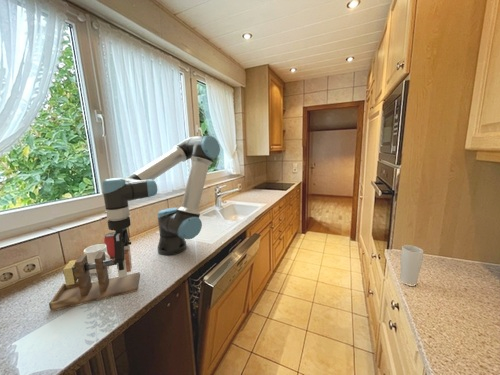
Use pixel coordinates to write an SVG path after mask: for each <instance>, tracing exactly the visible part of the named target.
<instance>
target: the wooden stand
mask: <svg viewBox="0 0 500 375" xmlns="http://www.w3.org/2000/svg"><path fill="white" fill-rule="evenodd" d="M75 260H76V262H75V267H76V273H77V278H78V280H77V281H76V283H75V284H72V285H67V286H66V282H65V283H62V285H61V286H60V287H59V289H58V290H57V292H56V293H55V295H54V296H53V298H52V299H51V301H50V302H49V303H48V305H49V310H50V312H53V311H58V310H62V309H63V310H64V309H66V308H70V307H75V306H78V305H83V304H87V303H90V302H95V301H99V300H103V299H107V298H112V297H116V296H119V295H120V296H121V295H123V294H128V293H132V292H136V291H138V290H139V289H138V287H139V282H140V275H141V274H140V272H133V273H129V274H127V276H125V277H120V278H119V276H117V277H109V271H108V268H107V267H103V261H106V258H105V251H103V252H98V254H97V256H96V257H95V259H94V260H95V266H96V272H97V273H96V275H97V281H93V282H92V279H91V278H92V277H91V274H90V272H89V270H87V271H85V270H84V264H88V260H87V255H86V254H85V255H84V254H82V255H79V256H78V258H77V259H75Z"/></svg>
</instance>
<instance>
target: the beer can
mask: <svg viewBox="0 0 500 375" xmlns="http://www.w3.org/2000/svg"><path fill="white" fill-rule="evenodd" d="M114 234H115V231H114V232H109V233H106V234H104V238H103V241H104V243H103V244H105V245H106V247H107V253H108V255H109V256H110V259H115V250H114V238H113V237H114Z"/></svg>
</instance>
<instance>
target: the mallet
mask: <svg viewBox="0 0 500 375" xmlns="http://www.w3.org/2000/svg"><path fill="white" fill-rule="evenodd" d="M130 253H131V248H130V249H127V250H124V259H125V262H126V270H127V273H130V272H132V268H133V264H132V255H130ZM114 261H115V258H110V260H109V259H108V260H106V261H103V267H107V266H109V267H112V266H117V263H114ZM92 269H96V266H95V263H89V264H84V270H85V271H87V270H92ZM74 273H76V267H75V268H74ZM62 274H63V275H64V272H63V271H62Z"/></svg>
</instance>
